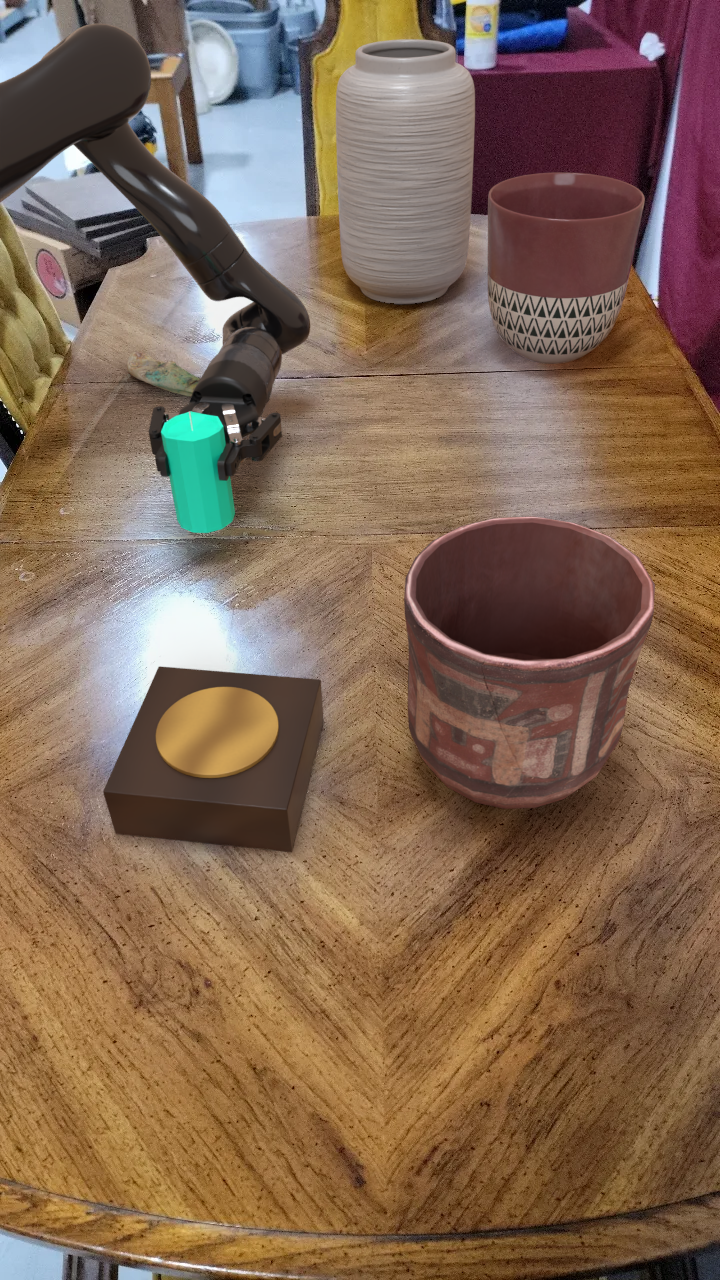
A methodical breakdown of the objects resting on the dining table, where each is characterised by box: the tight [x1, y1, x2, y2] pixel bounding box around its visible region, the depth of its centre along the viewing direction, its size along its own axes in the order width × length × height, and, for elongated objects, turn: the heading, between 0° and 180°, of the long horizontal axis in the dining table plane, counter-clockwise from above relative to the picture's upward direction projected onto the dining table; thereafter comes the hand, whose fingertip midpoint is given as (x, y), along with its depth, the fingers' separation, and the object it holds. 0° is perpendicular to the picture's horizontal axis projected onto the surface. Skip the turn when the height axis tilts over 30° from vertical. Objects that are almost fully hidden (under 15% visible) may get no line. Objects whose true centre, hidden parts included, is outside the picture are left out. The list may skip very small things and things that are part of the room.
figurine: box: [126, 350, 201, 397], centre depth 133 cm, size 6×15×4 cm, turn 49°
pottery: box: [403, 515, 656, 810], centre depth 76 cm, size 18×18×18 cm
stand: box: [102, 666, 325, 853], centre depth 79 cm, size 14×14×5 cm
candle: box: [161, 411, 236, 534], centre depth 99 cm, size 6×6×12 cm
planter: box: [487, 172, 646, 365], centre depth 132 cm, size 20×20×21 cm
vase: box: [335, 38, 476, 305], centre depth 148 cm, size 20×20×34 cm
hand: (192, 470), depth 96 cm, fingers closed on candle, 5 cm apart
